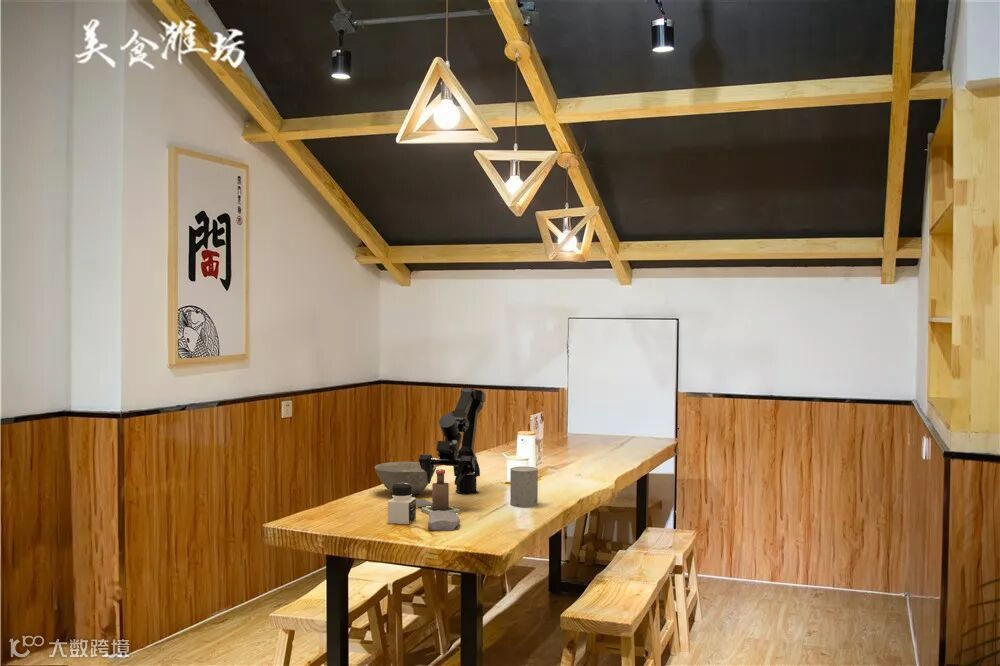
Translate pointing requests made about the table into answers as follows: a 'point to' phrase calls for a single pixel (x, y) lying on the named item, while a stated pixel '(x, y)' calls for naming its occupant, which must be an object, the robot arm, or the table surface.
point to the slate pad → (423, 503)
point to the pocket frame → (451, 509)
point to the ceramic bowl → (403, 475)
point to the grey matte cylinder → (523, 486)
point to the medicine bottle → (401, 505)
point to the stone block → (442, 521)
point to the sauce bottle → (440, 493)
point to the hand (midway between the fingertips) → (441, 483)
